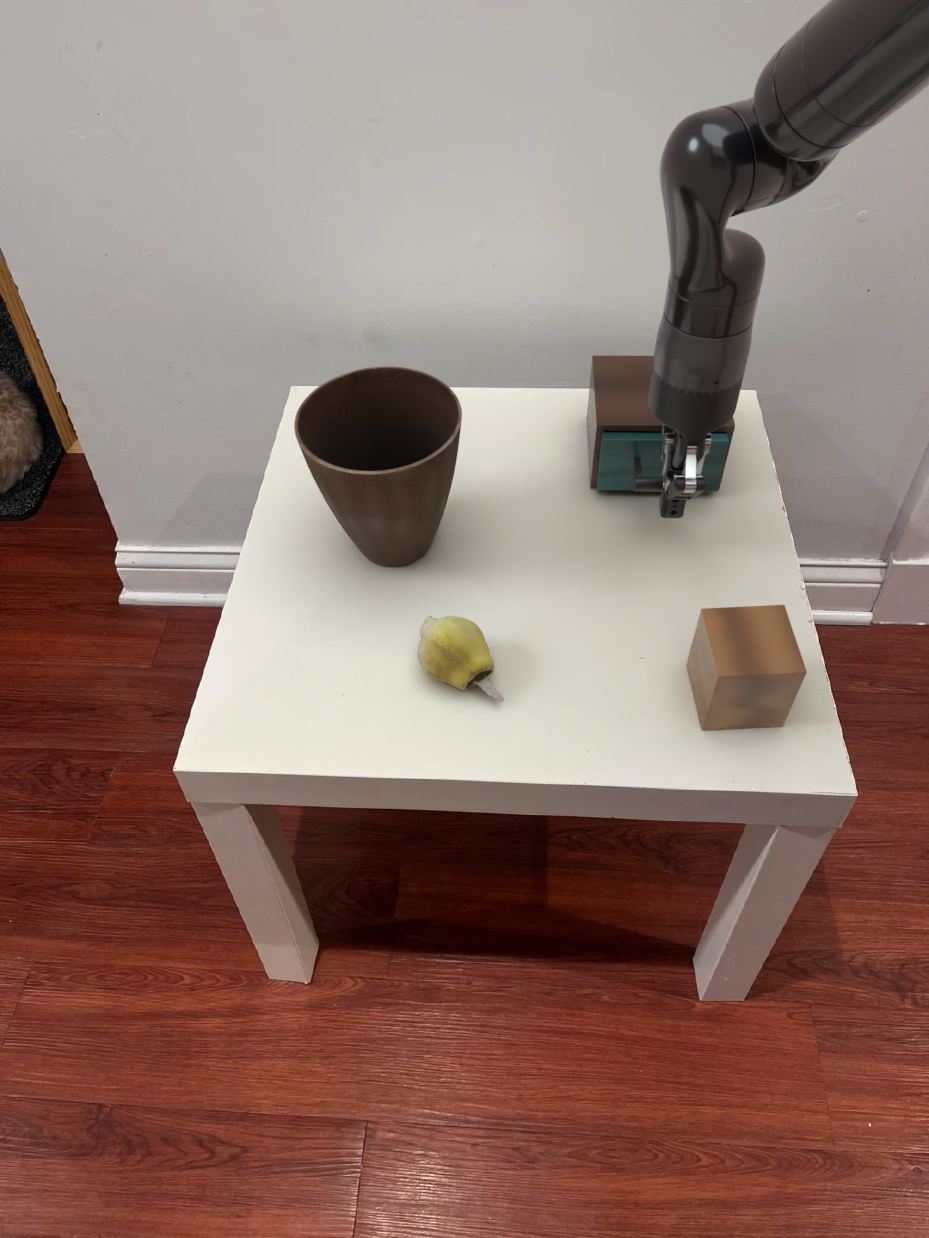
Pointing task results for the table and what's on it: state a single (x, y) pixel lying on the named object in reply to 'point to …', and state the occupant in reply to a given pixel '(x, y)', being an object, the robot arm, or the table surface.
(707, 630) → the cube
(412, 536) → the flower pot
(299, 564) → the table surface
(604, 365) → the cabinet
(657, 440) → the drawer
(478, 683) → the fruit
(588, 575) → the table surface
